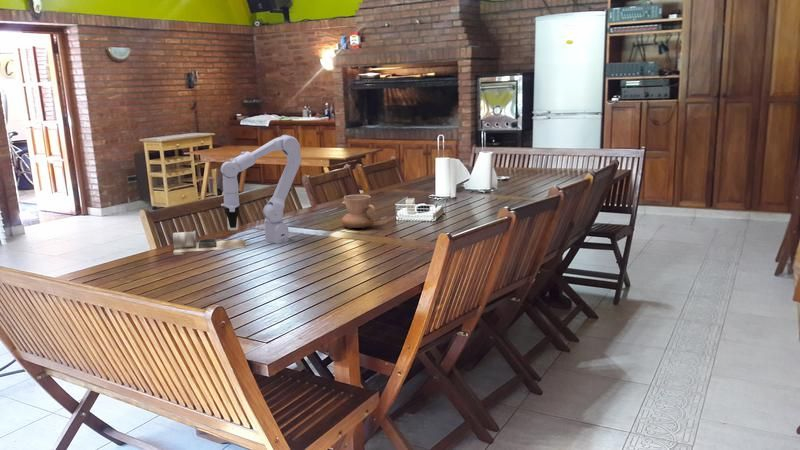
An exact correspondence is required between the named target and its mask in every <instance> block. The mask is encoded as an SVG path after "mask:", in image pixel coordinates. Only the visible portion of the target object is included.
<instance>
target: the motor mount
mask: <svg viewBox="0 0 800 450" xmlns="http://www.w3.org/2000/svg"><path fill="white" fill-rule="evenodd" d="M196 232H197V230H193V231H181V232H172V245H173V252H172V253H173V256H177V255H187V252H200V251H201V252H202V251H203V252H204V251H215V250H216V251H218V250H231V249H233V250H234V249H244V248H245V249H247V245H246V239H230V240H217V238H216V237H215V238H204V239H203V238H202V239H198V242H197V233H196Z"/></svg>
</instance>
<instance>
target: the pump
mask: <svg viewBox="0 0 800 450" xmlns="http://www.w3.org/2000/svg"><path fill="white" fill-rule="evenodd" d="M238 217H239V216H238ZM238 217H237V224H236V228H230V225H229V221H228V217H227V216H226V221H227V230H228V231H237V230H239V220H238Z"/></svg>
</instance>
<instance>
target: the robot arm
mask: <svg viewBox="0 0 800 450" xmlns="http://www.w3.org/2000/svg"><path fill="white" fill-rule="evenodd" d="M275 151H276V152H283V153H284V155H285V157H286V159H287V161H286V164H285V167H284V169H283V172H282V173H281V176H280V178H279V180H278V182H277V186H276V187H275V190H274V192H273V195H272V197H270V199H269V201H268V202H267V203H266V205H264V207H263V210H262V213H263V215H264V217H265V218H264V221H263V222H264V235H265V237H264V239H265V240H264V241H265V242H267V243H273V244H282V243H286V242H289V241H290V240H289V238H290V236H289V227H288V225H287V224H286V223H284V220H283V218H284V209H285V204H286V203H285V202H286V199H287V196H288V194H289V192H290V190H291V188H292V187H291V186H292V184H293V182H294V180H295V177H296V175H297V173H298V171H299V168H300V165H301V164H302V156H301V155H302V154H301V144H300V143H299V141H298V139H297V138H296V137H294V136H292V135H289V134H282V135H281V136H279V137H275V138H274V139H271V140H270V141H268V142H267V143H265V144H263V145H262V146H260V147H258V148H257V149H255V150H253V151H252V152H250V151H241V152H240V155H237V156H236V157H234V158H232V157H231V158H230V159H229V161H225V162H223V163H222V164H221V166H220V172H221V174H222V191H223V192H222V193H223V203H221V204H220V206H221V207H224V213H225V215H226V218H227V217H228V221H229V225H230V228H236V224H237V217H239V213H240V212H241V211H240V197H239V195H240V194H239V183H238V182H239V181H238V175H239V173H240V172H243V171H245V170H247V169H248V168H250V167H252V166H254V165H255V163H256V160H258V159H260V158H262V157H264V156H266V155H268V154H270V153H272V152H275Z"/></svg>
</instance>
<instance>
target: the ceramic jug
mask: <svg viewBox="0 0 800 450" xmlns="http://www.w3.org/2000/svg"><path fill="white" fill-rule="evenodd" d="M371 198H372V196H371V195H368V194H349V195H345V196H344V197H343V201H342V202H341V204H342V205H345V208H346V210H347V212H348V213H347V214H345V215H344V216H343V217H342V218H341V223H342V225H343V226H344V227H345V228H347V229H352V228H362V229H366V228H365V227H367V228H368V227H371V226H372V225H374V223H375V222H374V221H375V216H376V207H375V206H374V205H373V204H371V200H372V199H371ZM369 209H371V215H370V214H369V212H368V211H369Z"/></svg>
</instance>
